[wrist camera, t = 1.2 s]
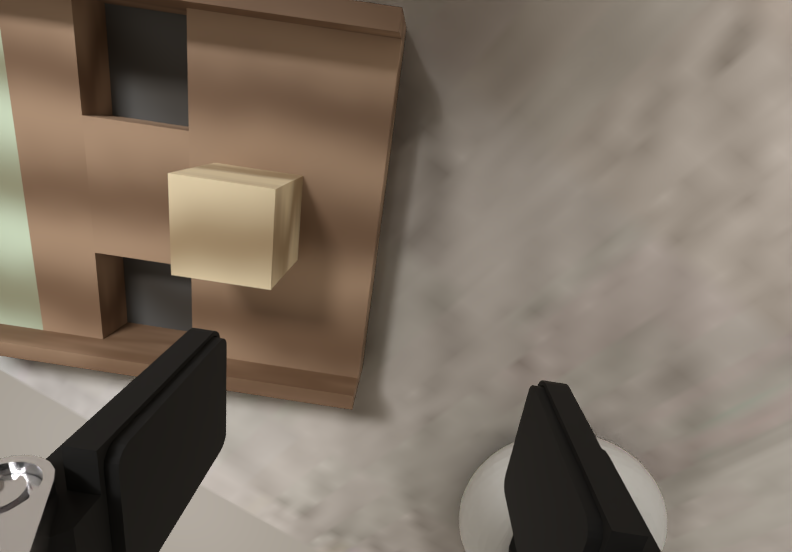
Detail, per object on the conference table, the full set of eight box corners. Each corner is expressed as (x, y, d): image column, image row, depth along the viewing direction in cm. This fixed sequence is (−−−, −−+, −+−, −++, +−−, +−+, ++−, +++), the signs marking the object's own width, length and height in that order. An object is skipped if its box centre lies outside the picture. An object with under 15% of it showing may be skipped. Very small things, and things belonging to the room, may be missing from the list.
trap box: (-84, -43, 25) (-199, -79, 21) (406, 27, 25) (402, 7, 20) (-17, 309, 33) (-90, 341, 28) (362, 367, 33) (352, 409, 28)
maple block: (215, 162, 25) (167, 173, 21) (303, 175, 25) (275, 189, 21) (215, 247, 27) (171, 274, 22) (297, 259, 27) (270, 289, 22)
